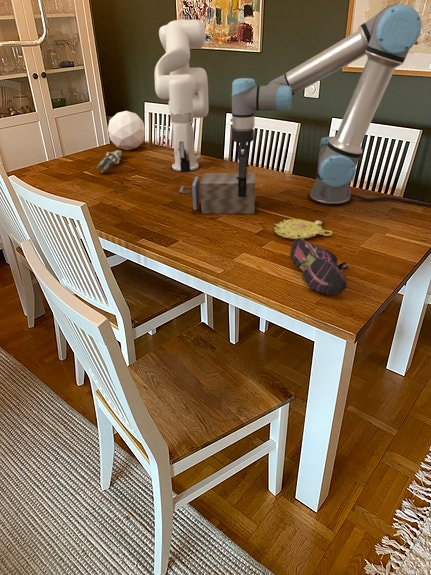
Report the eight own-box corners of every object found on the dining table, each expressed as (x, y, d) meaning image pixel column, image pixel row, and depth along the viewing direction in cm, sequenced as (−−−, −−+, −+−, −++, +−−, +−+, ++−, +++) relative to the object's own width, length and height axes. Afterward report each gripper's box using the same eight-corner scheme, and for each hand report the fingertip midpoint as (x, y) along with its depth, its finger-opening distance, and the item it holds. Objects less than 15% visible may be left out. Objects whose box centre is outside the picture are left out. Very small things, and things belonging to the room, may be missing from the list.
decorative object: (286, 211, 157) (342, 219, 147) (286, 217, 158) (341, 226, 148) (260, 233, 142) (319, 243, 133) (260, 240, 144) (319, 251, 134)
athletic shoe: (333, 284, 107) (372, 276, 111) (293, 223, 119) (330, 218, 123) (316, 311, 116) (353, 303, 120) (281, 252, 127) (315, 246, 132)
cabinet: (201, 213, 162) (199, 183, 156) (204, 202, 172) (203, 173, 165) (254, 213, 161) (255, 183, 154) (254, 202, 170) (255, 173, 164)
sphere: (121, 160, 244) (102, 128, 241) (152, 143, 246) (133, 111, 243) (119, 152, 225) (98, 116, 222) (153, 133, 227) (132, 97, 225)
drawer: (179, 210, 163) (177, 185, 158) (182, 200, 171) (181, 176, 166) (242, 210, 161) (242, 185, 156) (243, 200, 169) (243, 176, 164)
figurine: (101, 154, 197) (119, 141, 223) (91, 167, 200) (110, 152, 227) (114, 165, 199) (130, 151, 225) (103, 178, 203) (121, 162, 229)
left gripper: (174, 113, 157) (178, 165, 166) (167, 122, 144) (172, 178, 154) (195, 113, 156) (198, 165, 166) (190, 122, 143) (193, 177, 153)
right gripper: (233, 121, 161) (233, 179, 172) (230, 137, 141) (230, 202, 152) (254, 120, 160) (253, 179, 172) (254, 137, 140) (252, 202, 152)
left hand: (185, 171), depth 160 cm, fingers closed
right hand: (242, 190), depth 162 cm, fingers closed on cabinet, 11 cm apart
